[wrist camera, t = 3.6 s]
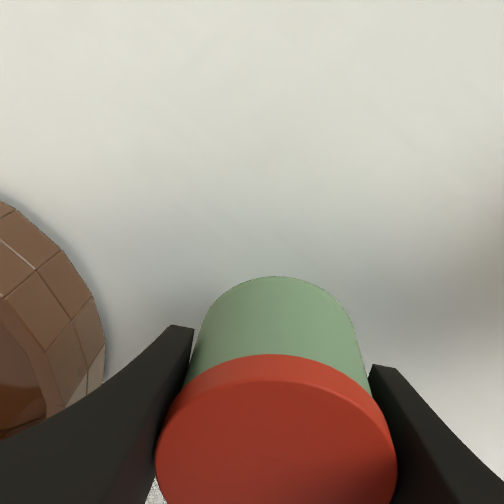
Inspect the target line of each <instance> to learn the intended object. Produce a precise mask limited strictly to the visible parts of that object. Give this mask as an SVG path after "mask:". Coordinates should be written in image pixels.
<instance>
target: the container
mask: <svg viewBox="0 0 504 504" xmlns="http://www.w3.org/2000/svg"><path fill="white" fill-rule="evenodd" d="M154 466H155V474H156V479H157V482H158V485H159V489H160V491H161V493H162V495H163V497H164V499H165V500H166V502H167V503H168V504H389V503H390V502H391V500H392V497H393V494H394V491H395V488H396V483H397V476H398V466H397V458H396V454H395V449H394V446H393V442H392V439H391V435H390V432H389V429H388V425H387V423H386V420H385V418H384V415H383V413H382V411H381V410H380V408H379V406H378V405H377V403H376V402H375V401H374V399H373V398H372V394H371V390H370V386H369V383H368V379H367V375H366V372H365V368H364V364H363V360H362V357H361V353H360V349H359V345H358V342H357V338H356V334H355V331H354V327H353V324H352V322H351V319H350V317H349V316H348V314H347V312H346V311H345V309H344V308H343V307H342V306H341V304H340V303H339V302H338V301H337V300H336V299H335V298H334V297H333V296H331V295H330V294H329V293H327V292H326V291H325V290H323V289H321V288H319V287H317V286H316V285H314V284H311V283H309V282H306V281H303V280H299V279H295V278H289V277H276V276H271V277H261V278H257V279H252V280H249V281H246V282H244V283H241V284H239V285H237V286H235V287H233V288H231V289H230V290H228V291H227V292H225V293H224V294H223V295H221V296H220V297H219V298H218V299H217V300H216V301H215V302H214V303H213V305H212V306H211V307H210V308H209V310H208V312H207V313H206V315H205V317H204V320H203V322H202V325H201V328H200V331H199V334H198V338H197V341H196V344H195V347H194V350H193V354H192V357H191V360H190V363H189V366H188V370H187V373H186V376H185V379H184V382H183V386H182V389H181V391H180V392H179V393H178V395H177V396H176V397H175V399H174V400H173V402H172V404H171V405H170V407H169V409H168V412H167V414H166V417H165V419H164V423H163V426H162V429H161V432H160V435H159V438H158V441H157V445H156V449H155V459H154Z"/></svg>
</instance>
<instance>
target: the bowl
mask: <svg viewBox="0 0 504 504" xmlns="http://www.w3.org/2000/svg"><path fill="white" fill-rule="evenodd" d="M105 345H106V342H105V336H104V332H103V329H102V326H101V322H100V319H99V315H98V312H97V309H96V305H95V302H94V299H93V296H92V293H91V292H90V290H89V289H88V287H87V286H86V284H85V283H84V281H83V280H82V278H81V277H80V275H79V274H78V272H77V271H76V269H75V268H74V266H73V265H72V263H71V262H70V260H69V259H68V257H67V256H66V254H65V253H64V251H63V250H60V247H59V246H58V245H56V244H55V243H54V242H53V241H52V240H51V239H50V238H48V237H47V236H46V235H45V234H44V233H43V232H42V231H40V230H39V229H38V228H37V227H36V226H35V225H34V224H32V223H31V222H30V221H29V220H28V219H27V218H26V217H24V216H23V215H22V214H21V213H20V212H19V211H17V210H16V209H15V208H13V207H11V206H9V205H7V204H5V203H3V202H1V201H0V441H1V440H4V439H6V438H9V437H11V436H13V435H15V434H17V433H20V432H22V431H24V430H26V429H28V428H30V427H32V426H34V425H36V424H38V423H40V422H42V421H44V420H46V419H48V418H49V417H51V416H53V415H55V414H57V413H58V412H60V411H62V410H64V409H65V408H67V407H69V406H71V405H72V404H74V403H75V402H77V401H79V400H80V399H82V398H83V397H85V396H86V395H88V394H89V393H91V392H92V391H94V390H95V389H97V388H98V387H100V386H101V385H102V381H103V373H104V359H105Z"/></svg>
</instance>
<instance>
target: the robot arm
mask: <svg viewBox="0 0 504 504" xmlns="http://www.w3.org/2000/svg"><path fill="white" fill-rule="evenodd" d="M194 330H195V329H192V328H187V327H182V326H177V325H170V326H169V327H167V328H166V329H165V330H164V331H163V333H162V334H161V335H160V336H159V337H158V338H157V339H156V340H155V341H154V342H153V343H152V344H151V345H149V346H148V347H147V348H146V349H145V350H144V351H143V352H142V353H141V354H140V355H138V356H137V357H136V358H135V359H134V360H133V361H132V362H130V363H129V364H128V365H127V366H126V367H124V368H123V369H122V370H121V371H119V372H118V373H117V374H115V375H114V376H113V377H112V378H110V379H109V380H108V381H106V382H105V383H104V384H102V385H101V386H100V387H98V388H97V389H95V390H94V391H92V392H91V393H89V394H88V395H86V396H85V397H83V398H82V399H80V400H79V401H77V402H75V403H74V404H72V405H71V406H69V407H67V408H65V409H64V410H62V411H60V412H58V413H57V414H55V415H53V416H51V417H49V418H48V419H46V420H44V421H42V422H40V423H38V424H36V425H34V426H32V427H30V428H28V429H26V430H24V431H22V432H20V433H17V434H15V435H13V436H11V437H9V438H6V439H4V440H1V441H0V504H145V502H146V499H147V496H148V494H149V491H150V489H151V486H152V484H153V481H154V478H155V476H156V474H155V466H154V459H155V449H156V445H157V441H158V438H159V435H160V432H161V429H162V426H163V423H164V419H165V417H166V414H167V412H168V409H169V407H170V405H171V404H172V402H173V400H174V399H175V397H176V396H177V395H178V393H179V392H180V391H181V389H182V386H183V382H184V379H185V376H186V373H187V370H188V366H189V360H190V354H191V348H192V342H193V336H194ZM368 383H369V386H370V390H371V394H372V398H373V399H374V401H375V402H376V403H377V405H378V406H379V408H380V410H381V411H382V413H383V415H384V418H385V420H386V423H387V425H388V429H389V432H390V435H391V439H392V442H393V446H394V449H395V454H396V458H397V466H398V476H397V483H396V488H395V491H394V494H393V497H392V500H391V502H390V503H389V504H504V481H503V480H501V479H500V478H499V477H498V476H497V475H496V474H495V473H493V472H492V471H491V470H490V469H489V468H488V467H487V466H486V465H485V464H484V463H483V462H482V461H481V460H480V459H479V458H478V457H477V456H476V455H475V454H474V453H473V452H472V451H471V450H470V449H469V448H468V447H467V446H466V445H465V444H464V443H463V442H462V441H461V440H460V439H459V438H458V437H457V436H456V435H455V434H454V433H453V432H452V431H451V430H450V429H449V428H448V426H447V425H446V424H445V423H444V422H443V421H442V420H441V419H440V418H439V417H438V415H437V414H436V413H435V412H434V411H433V410H432V409H431V408H430V406H429V405H428V404H427V403H426V402H425V401H424V400H423V398H422V397H421V396H420V395H419V394H418V393H417V392H416V390H415V389H414V388H413V387H412V386H411V385H410V384H409V382H408V381H407V380H406V379H405V378H404V377H403V376H402V375H401V374H400V373H399V372H398V370H397V369H396V368H391V367H386V366H381V365H376V364H373V365H372V368H371V371H370V373H369V376H368Z"/></svg>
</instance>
